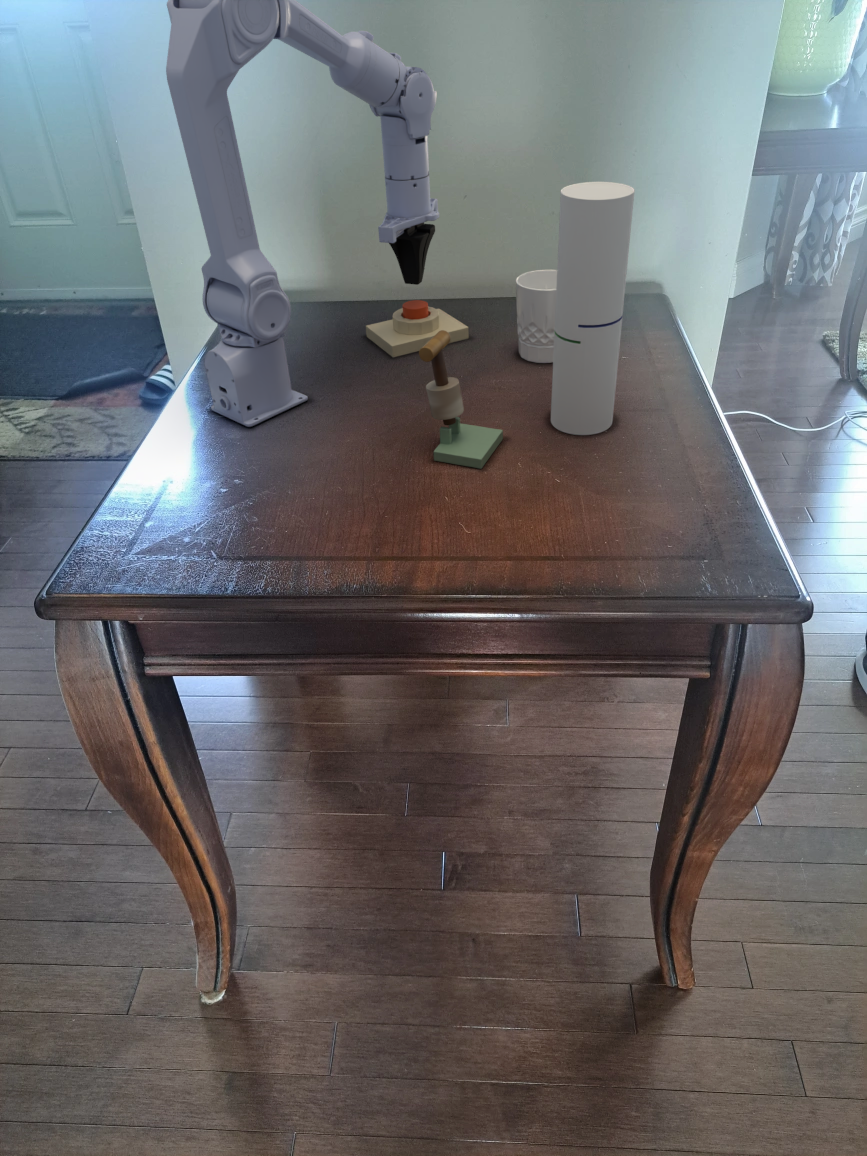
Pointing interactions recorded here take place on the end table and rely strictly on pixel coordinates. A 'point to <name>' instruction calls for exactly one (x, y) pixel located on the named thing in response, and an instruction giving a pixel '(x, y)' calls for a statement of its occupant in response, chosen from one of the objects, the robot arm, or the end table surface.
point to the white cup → (536, 314)
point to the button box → (414, 331)
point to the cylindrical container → (589, 304)
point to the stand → (467, 444)
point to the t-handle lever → (441, 382)
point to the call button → (415, 309)
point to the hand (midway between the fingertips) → (413, 282)
